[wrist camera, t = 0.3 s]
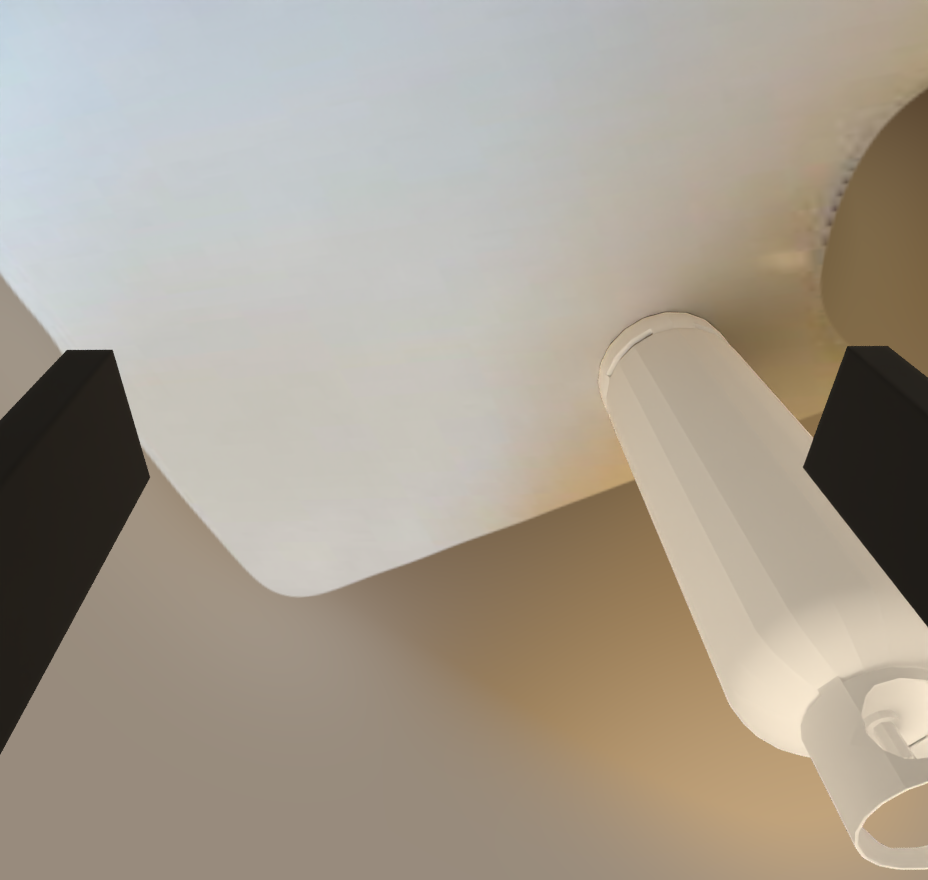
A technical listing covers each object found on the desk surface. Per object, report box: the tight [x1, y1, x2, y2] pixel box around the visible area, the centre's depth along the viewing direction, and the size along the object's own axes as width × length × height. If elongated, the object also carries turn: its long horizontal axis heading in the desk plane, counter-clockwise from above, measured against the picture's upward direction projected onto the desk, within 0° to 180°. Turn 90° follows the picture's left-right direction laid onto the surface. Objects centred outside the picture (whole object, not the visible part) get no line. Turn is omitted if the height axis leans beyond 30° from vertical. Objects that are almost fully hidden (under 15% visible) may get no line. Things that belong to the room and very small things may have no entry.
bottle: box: [598, 312, 928, 870], centre depth 31 cm, size 8×8×28 cm
